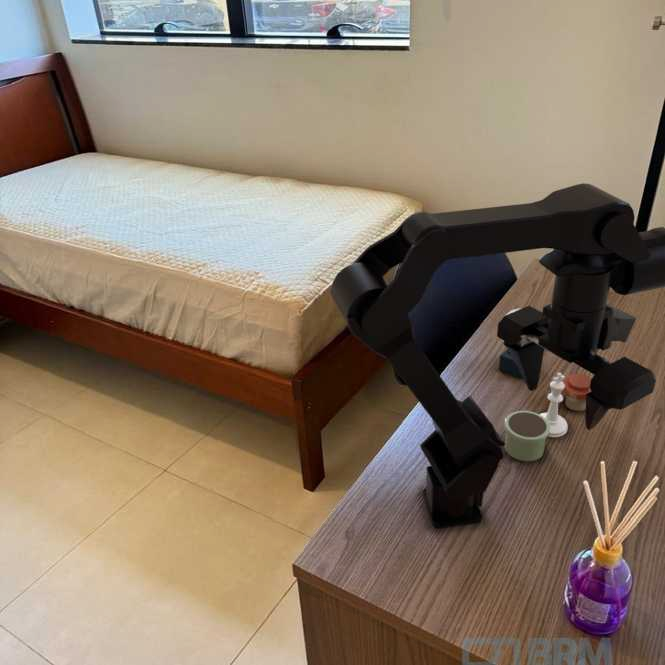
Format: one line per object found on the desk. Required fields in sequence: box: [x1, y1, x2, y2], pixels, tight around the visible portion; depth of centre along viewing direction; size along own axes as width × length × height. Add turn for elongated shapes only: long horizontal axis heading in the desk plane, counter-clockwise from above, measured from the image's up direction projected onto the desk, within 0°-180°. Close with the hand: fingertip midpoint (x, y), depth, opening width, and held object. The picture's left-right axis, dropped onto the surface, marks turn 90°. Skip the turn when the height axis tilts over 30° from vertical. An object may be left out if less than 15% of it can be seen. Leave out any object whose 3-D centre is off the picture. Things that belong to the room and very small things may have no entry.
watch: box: [498, 307, 523, 380], centre depth 103 cm, size 6×8×11 cm
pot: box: [503, 410, 550, 462], centre depth 88 cm, size 6×6×5 cm
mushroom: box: [561, 373, 593, 412], centre depth 95 cm, size 5×5×5 cm
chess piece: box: [538, 372, 568, 438], centre depth 90 cm, size 5×5×10 cm
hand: (560, 408), depth 76 cm, fingers open, 9 cm apart
